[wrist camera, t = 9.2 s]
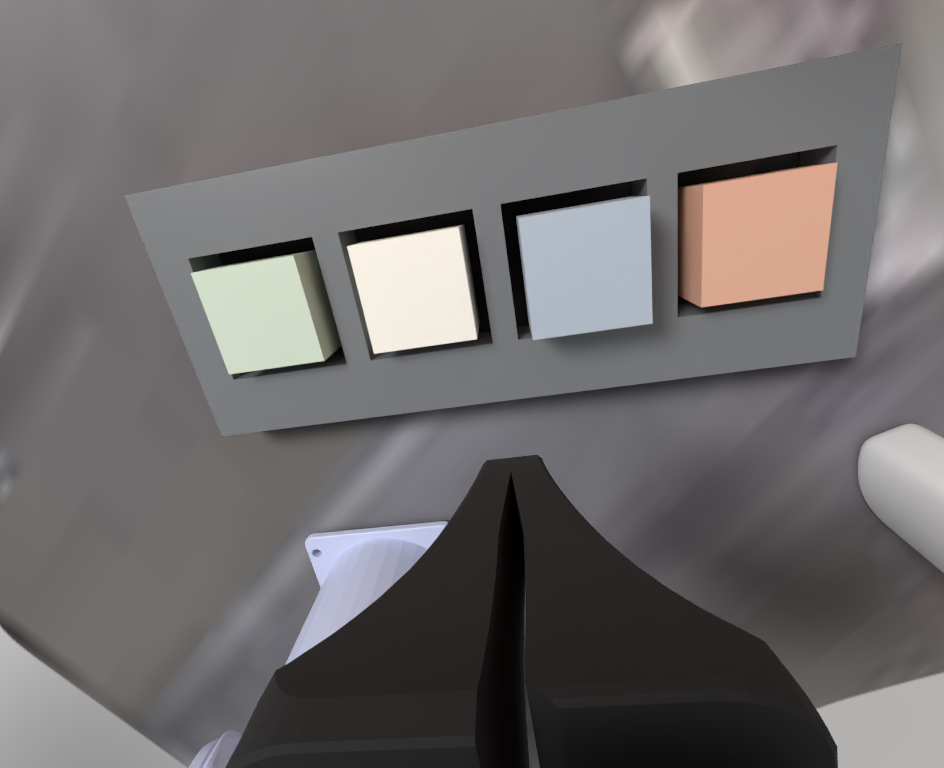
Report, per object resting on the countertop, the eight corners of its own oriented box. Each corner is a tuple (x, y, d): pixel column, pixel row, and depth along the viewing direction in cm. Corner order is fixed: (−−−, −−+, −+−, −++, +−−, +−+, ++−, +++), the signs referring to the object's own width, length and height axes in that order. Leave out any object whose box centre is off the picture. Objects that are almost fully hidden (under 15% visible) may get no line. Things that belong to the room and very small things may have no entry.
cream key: (480, 322, 19) (477, 339, 17) (389, 336, 20) (373, 353, 17) (464, 224, 18) (458, 227, 16) (366, 240, 18) (346, 246, 16)
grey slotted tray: (821, 342, 19) (855, 357, 17) (245, 416, 22) (221, 436, 20) (853, 62, 16) (901, 43, 14) (162, 196, 18) (124, 195, 17)
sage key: (344, 342, 20) (324, 361, 18) (259, 355, 20) (228, 374, 18) (319, 248, 19) (293, 255, 16) (228, 264, 19) (190, 273, 17)
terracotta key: (781, 279, 18) (823, 290, 16) (675, 294, 18) (701, 307, 16) (790, 168, 16) (837, 162, 14) (675, 187, 17) (703, 185, 15)
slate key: (632, 307, 18) (652, 323, 15) (528, 322, 18) (533, 340, 16) (628, 196, 16) (649, 195, 14) (515, 216, 17) (518, 218, 14)
